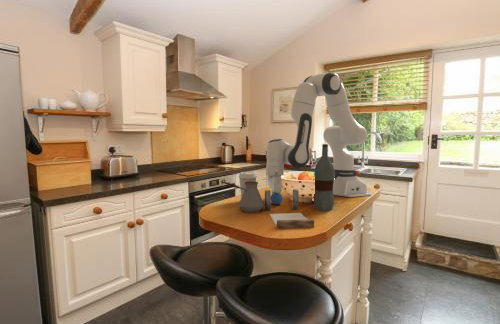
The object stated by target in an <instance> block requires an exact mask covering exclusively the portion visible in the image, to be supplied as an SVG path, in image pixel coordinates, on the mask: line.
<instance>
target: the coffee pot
mask: <svg viewBox="0 0 500 324" xmlns="http://www.w3.org/2000/svg"><path fill="white" fill-rule="evenodd" d="M224 184H225V185H224ZM244 184H245V185H246V188H242V187H240V185H237V184H234V183H230V182H227V181H224V182H223V183H222V184H221V186H222V187H226V186H230V187H231V188H236V189H240V190H241V189H242V190H244V193H243V195H242V197H241V196H240V200H239V203H238V206H239V208H240V209H241V210H242V211H243V212H245V213H258V212H260V210H262V209H263V208H264V207H265V202H264V201H263V199H262V196H261V194H260V192H259V189H258V184H259V182H258V181H256V182H253V181H249V182H245V183H244Z"/></svg>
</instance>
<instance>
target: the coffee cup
mask: <svg viewBox="0 0 500 324" xmlns="http://www.w3.org/2000/svg"><path fill="white" fill-rule="evenodd" d="M257 178H258V175H257V172H254V171H241V172H239V174H238V179H239V187H242V188H246V185H245V184H244V183H245V182H249V181H253V182H257ZM243 193H244V190H242V189H240V198H241V197H242V195H243Z"/></svg>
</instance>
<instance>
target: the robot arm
mask: <svg viewBox="0 0 500 324" xmlns="http://www.w3.org/2000/svg"><path fill="white" fill-rule="evenodd" d="M341 79H342V78H341V77H340V76H339V74H338V73H336V72H323V73H318V74H314V75H310V76H308V77H306V78H305V79H304V80H303V82H301V83H300V84H298V86H297V88H296V91H295V93H294V97H293V99H292V104H291V110H290V115H291V118H292V119H293V120H294V122H295V123H296V126H297V127H296V128H297V129H296V130H297V131H296V136H295V143H294V145H293V144H290V143H288V142H287V141H286V140H285V141H284V139H282V138H275V139H271V140H269V141H268V142H267V145H266V165H265V175H267V176H266V177H267V185H268V187H269V188H270V190H271V195H272V194H273V193H280V194H281V193H282V190H283V189H282V187H283V184H282V183H283V181H282V176H284V170H285V167H284V165H285V164H287V165H290V166H292V167H293V168H295V169H302V168H304V167H306V166H307V165H308V163H309V161H310V157H311V156H310V155H311V154H310V150H309V149H310V146H309V145H310V139H311V132H312V125H313V115H314V110H315V106H316V100H317V98H318V97H323V96H324V97H325V102H326V107H327V111H328V116H329V119H330V120H331V121H333V122H334V123H335V124H337V125H331V126H328V127H326V128H325V130H324V131H323V135H322V136H323V140H324V141H325V143H326V144H328V146H329V147H330V150H331V152H332V158H333V162H332V164H333V166H334V172H335V175H334V178H335V180H334V183H333V196H340V197H346V198H353V197H354V198H355V197H366V196H371V195H372V193H371V192H370V191H368V187H367V184H366V183H365V182H364V180H362V179H361V178H360V177H358V175H360V174H361V171H360V170H355V169H354V167H355V163H354V162H355V156H354V154H353V153H352V152H350V151H349V150H348V148H347V146H359V145H363V144H364V143H365V142H366V141H367V139H368V131H367V129H366V128H365V126H364V125H363V126H362V125H361V124H360V123H359V122H358V121H357V120H356V119H355V117H354V115H353V114H352V112H351V107H350V104H349V99H348V96H347V92H346V89H345V87H344V84H343V83H342V80H341Z"/></svg>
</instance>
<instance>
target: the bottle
mask: <svg viewBox="0 0 500 324" xmlns="http://www.w3.org/2000/svg"><path fill="white" fill-rule="evenodd" d="M328 146H329V144H328V143H323V144H321V147H322V148H321V149H322V150H321V156H320V158H319V160H318V161H317V163H316V164H315V167H314V172H313V174H314V176H313V177H315V194H314V202H313V205H314V209H315V210H317V211H322V212H327V211H328V212H330V211H332V210H333V208H334V203H335V197H334V196H335V195H333V183H334V175H335V172H334V166H333V162H332V161H331V159H330V157H329V152H328V151H329V147H328Z"/></svg>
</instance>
